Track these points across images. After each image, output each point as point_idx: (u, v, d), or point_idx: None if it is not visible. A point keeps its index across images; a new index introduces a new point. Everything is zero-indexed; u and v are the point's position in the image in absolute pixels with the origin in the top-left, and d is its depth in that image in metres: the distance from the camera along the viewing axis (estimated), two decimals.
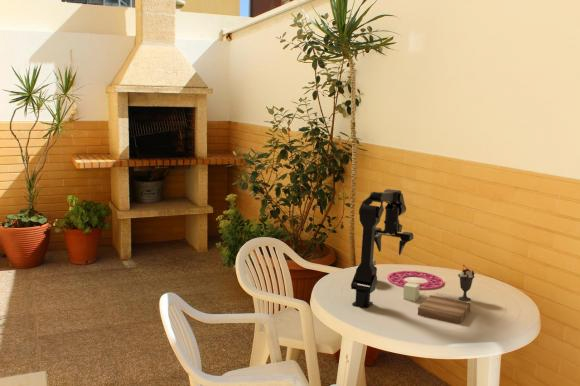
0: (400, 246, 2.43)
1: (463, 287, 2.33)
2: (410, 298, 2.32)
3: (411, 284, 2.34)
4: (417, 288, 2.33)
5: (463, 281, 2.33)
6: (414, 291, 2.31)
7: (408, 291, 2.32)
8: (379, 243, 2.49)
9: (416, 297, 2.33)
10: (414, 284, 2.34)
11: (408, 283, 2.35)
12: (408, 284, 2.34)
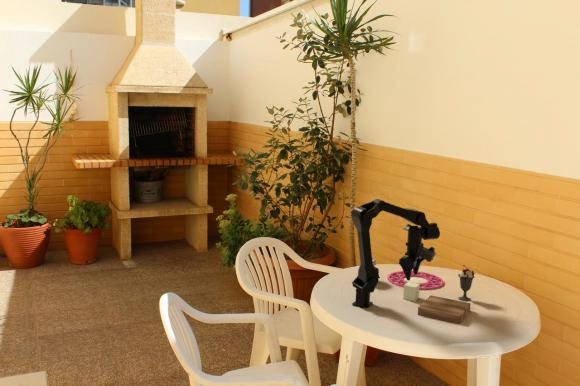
0: None
1: (463, 287, 2.33)
2: (410, 298, 2.32)
3: (411, 284, 2.34)
4: (417, 288, 2.33)
5: (463, 281, 2.33)
6: (414, 291, 2.31)
7: (408, 291, 2.32)
8: (414, 265, 2.37)
9: (416, 297, 2.33)
10: (414, 284, 2.34)
11: (408, 283, 2.35)
12: (408, 284, 2.34)
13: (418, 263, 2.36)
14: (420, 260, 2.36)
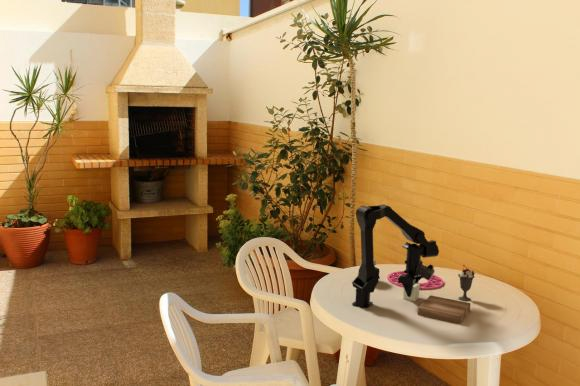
0: None
1: (463, 287, 2.33)
2: (410, 298, 2.32)
3: None
4: (417, 288, 2.33)
5: (463, 281, 2.33)
6: (414, 291, 2.31)
7: None
8: None
9: (416, 297, 2.33)
10: (414, 284, 2.34)
11: None
12: None
13: (416, 281, 2.36)
14: (418, 278, 2.35)
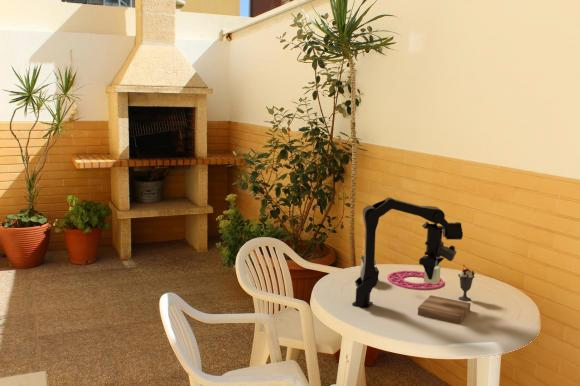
0: None
1: (463, 287, 2.33)
2: (431, 281, 2.22)
3: None
4: (438, 270, 2.23)
5: (463, 281, 2.33)
6: (435, 273, 2.21)
7: None
8: None
9: (437, 279, 2.23)
10: None
11: None
12: None
13: (436, 264, 2.26)
14: (438, 260, 2.26)
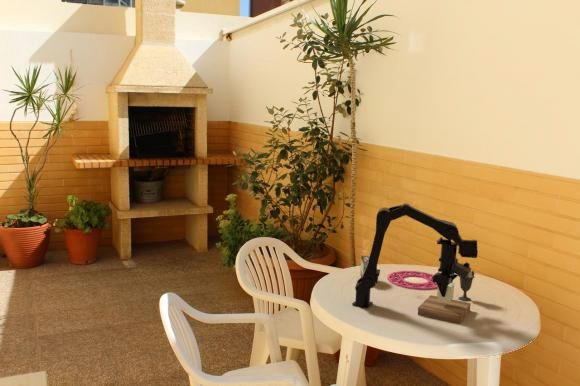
0: None
1: (463, 287, 2.33)
2: (445, 298, 2.17)
3: None
4: (452, 287, 2.17)
5: (463, 281, 2.33)
6: (449, 291, 2.15)
7: None
8: None
9: (451, 297, 2.17)
10: None
11: None
12: None
13: None
14: (452, 277, 2.20)
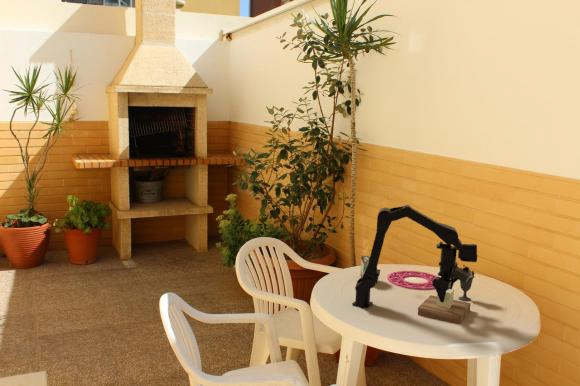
0: None
1: (463, 287, 2.33)
2: (444, 305, 2.17)
3: None
4: (452, 294, 2.17)
5: None
6: (448, 297, 2.16)
7: None
8: None
9: (450, 304, 2.18)
10: (448, 290, 2.19)
11: None
12: None
13: (451, 284, 2.22)
14: (453, 280, 2.21)
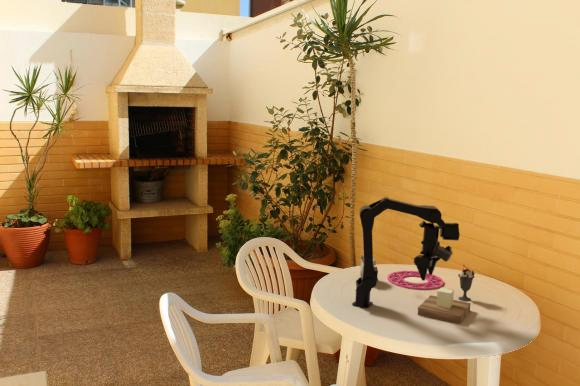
0: None
1: (463, 287, 2.33)
2: (444, 305, 2.17)
3: (445, 290, 2.18)
4: (452, 294, 2.17)
5: (463, 281, 2.33)
6: (448, 297, 2.16)
7: (442, 297, 2.17)
8: (429, 265, 2.26)
9: (450, 304, 2.18)
10: (448, 290, 2.19)
11: (442, 289, 2.20)
12: (441, 289, 2.19)
13: (433, 263, 2.25)
14: (436, 259, 2.25)
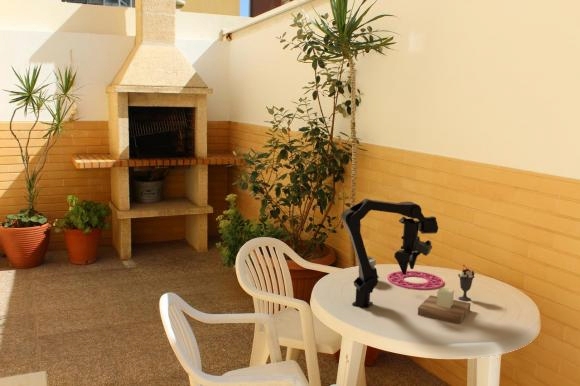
0: None
1: (463, 287, 2.33)
2: (444, 305, 2.17)
3: (445, 290, 2.18)
4: (452, 294, 2.17)
5: (463, 281, 2.33)
6: (448, 297, 2.16)
7: (442, 297, 2.17)
8: (410, 259, 2.31)
9: (450, 304, 2.18)
10: (448, 290, 2.19)
11: (442, 289, 2.20)
12: (441, 289, 2.19)
13: (414, 257, 2.30)
14: (416, 254, 2.30)
